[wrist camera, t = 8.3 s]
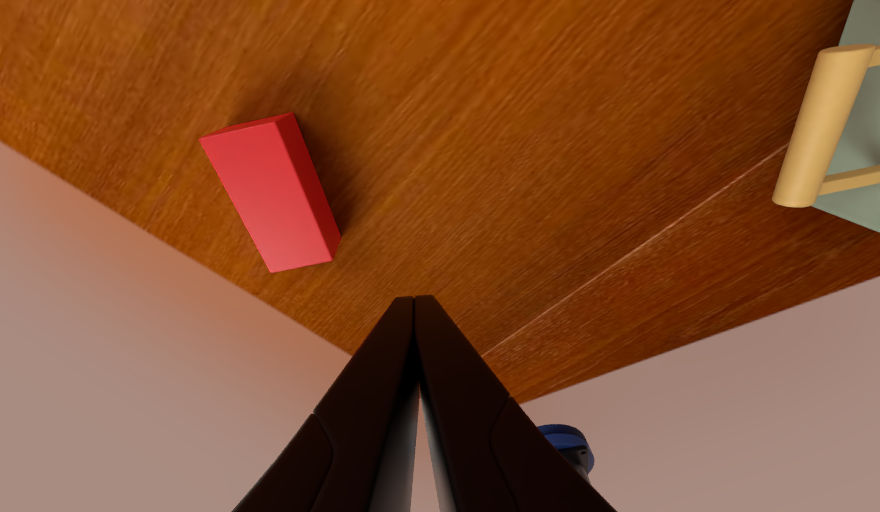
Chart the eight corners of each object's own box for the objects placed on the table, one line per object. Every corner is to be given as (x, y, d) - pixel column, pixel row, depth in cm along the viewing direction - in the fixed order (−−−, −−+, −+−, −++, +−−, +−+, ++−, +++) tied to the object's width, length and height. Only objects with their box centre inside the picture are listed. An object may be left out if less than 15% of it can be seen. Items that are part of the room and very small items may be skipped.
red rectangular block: (342, 237, 20) (333, 261, 18) (285, 249, 20) (270, 273, 18) (293, 111, 17) (275, 121, 14) (226, 126, 17) (197, 138, 15)
